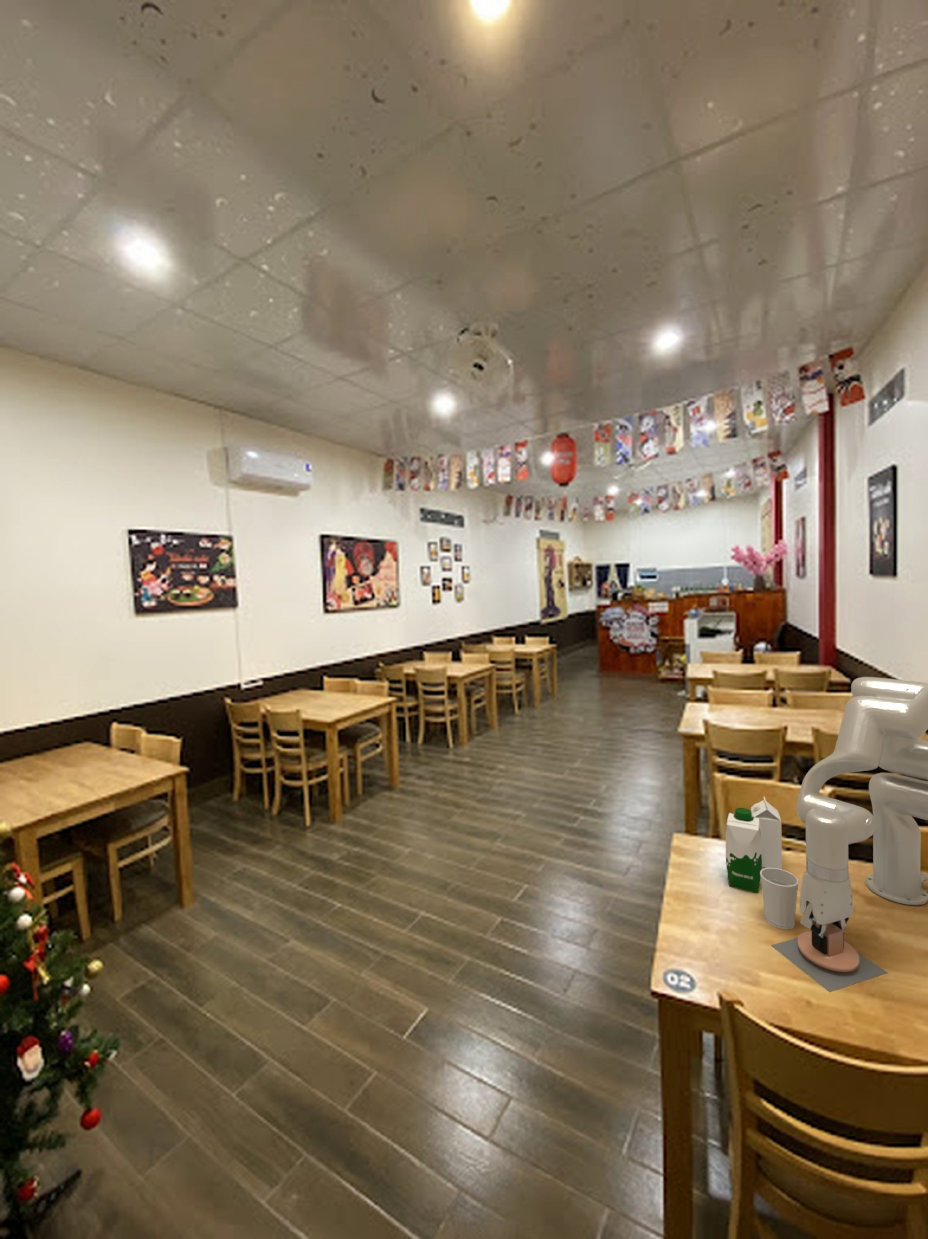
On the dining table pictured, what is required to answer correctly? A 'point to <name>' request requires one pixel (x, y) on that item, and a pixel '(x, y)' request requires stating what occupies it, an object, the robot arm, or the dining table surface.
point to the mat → (825, 976)
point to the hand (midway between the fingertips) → (827, 946)
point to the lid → (830, 950)
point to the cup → (779, 897)
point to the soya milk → (743, 850)
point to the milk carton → (769, 834)
